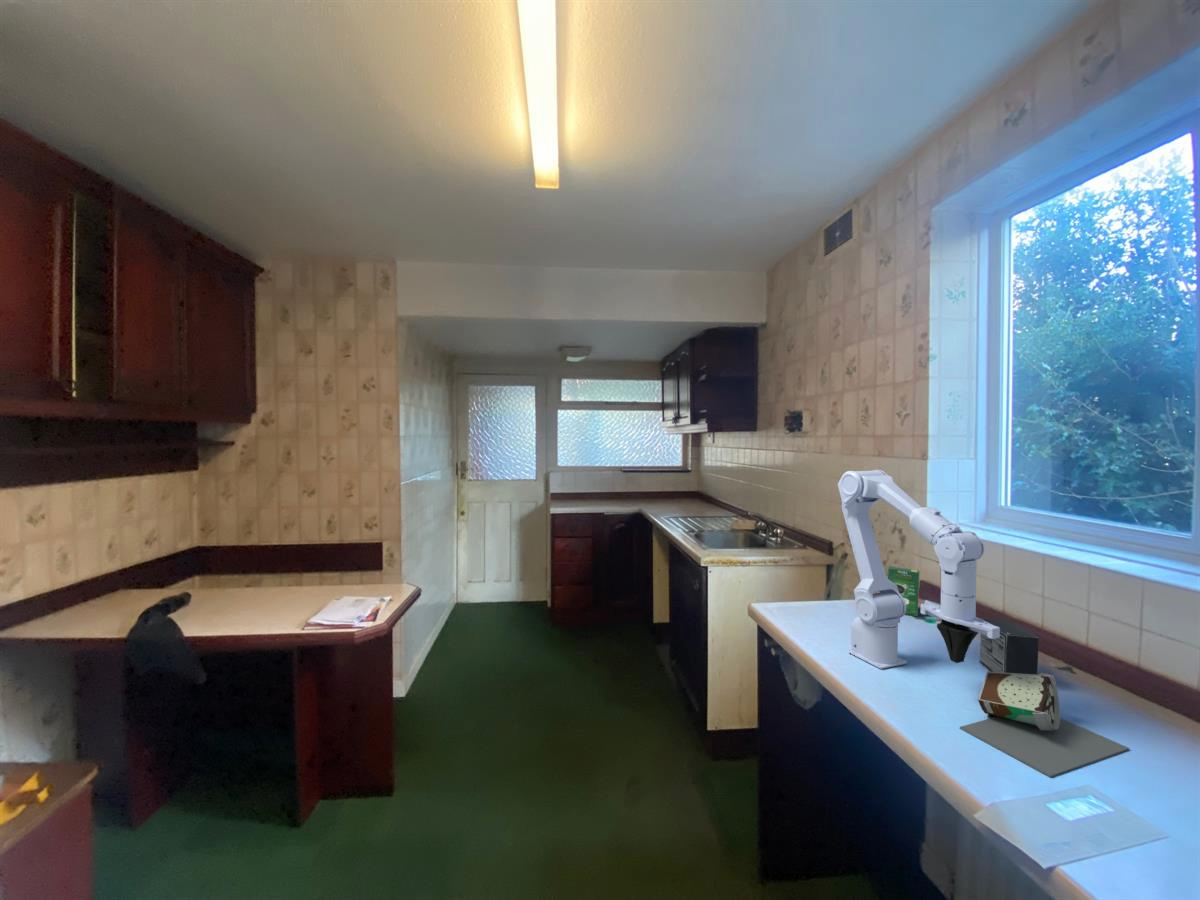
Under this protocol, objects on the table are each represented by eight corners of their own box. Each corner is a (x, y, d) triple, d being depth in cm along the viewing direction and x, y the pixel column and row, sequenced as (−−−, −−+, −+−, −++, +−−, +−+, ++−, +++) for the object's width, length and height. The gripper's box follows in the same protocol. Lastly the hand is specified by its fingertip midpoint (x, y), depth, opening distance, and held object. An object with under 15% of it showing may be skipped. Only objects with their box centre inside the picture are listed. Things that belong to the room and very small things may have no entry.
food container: (985, 735, 94) (1057, 749, 87) (976, 704, 94) (1047, 715, 86) (996, 695, 102) (1063, 705, 95) (988, 667, 102) (1054, 674, 95)
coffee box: (919, 614, 149) (919, 569, 149) (918, 617, 147) (919, 571, 147) (887, 609, 154) (887, 565, 153) (886, 612, 152) (886, 567, 151)
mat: (959, 728, 92) (959, 726, 92) (1034, 707, 99) (1034, 706, 99) (1050, 777, 79) (1050, 775, 79) (1129, 749, 86) (1129, 748, 86)
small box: (1040, 687, 107) (1041, 637, 106) (1004, 684, 108) (1005, 635, 108) (1010, 664, 117) (1011, 618, 117) (978, 662, 118) (979, 617, 118)
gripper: (1011, 602, 97) (1010, 673, 97) (937, 581, 110) (936, 643, 111) (985, 606, 94) (983, 679, 95) (913, 584, 108) (912, 648, 109)
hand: (956, 660), depth 103 cm, fingers closed
